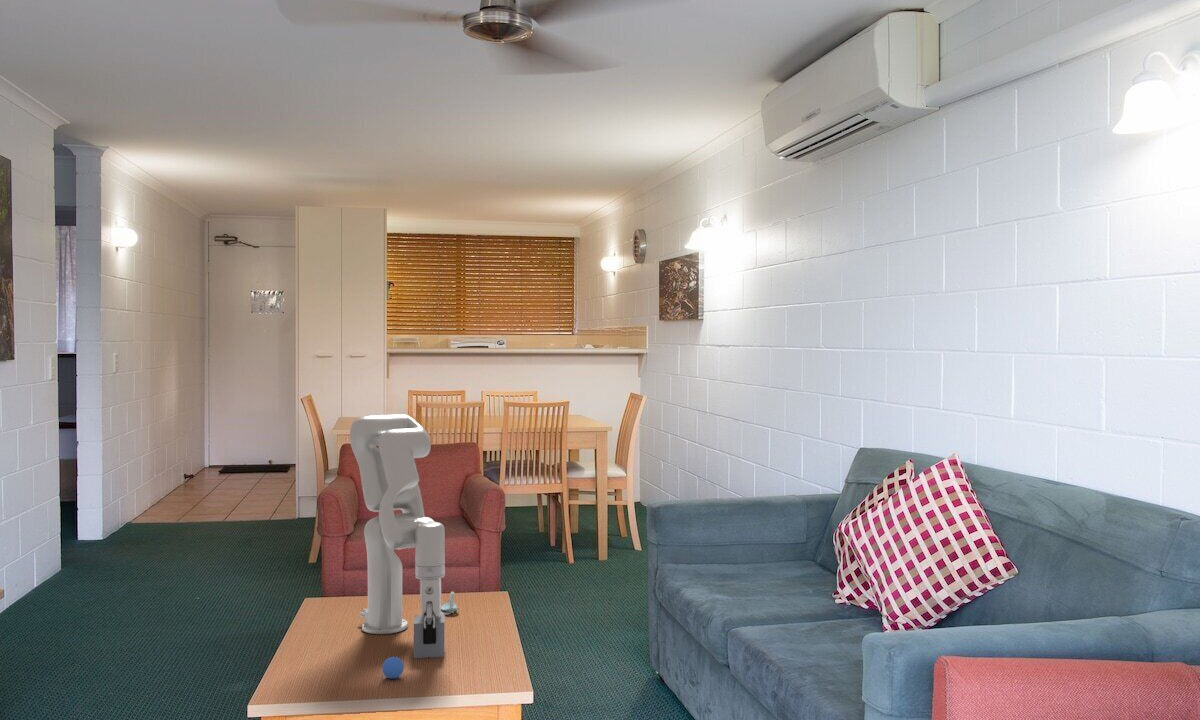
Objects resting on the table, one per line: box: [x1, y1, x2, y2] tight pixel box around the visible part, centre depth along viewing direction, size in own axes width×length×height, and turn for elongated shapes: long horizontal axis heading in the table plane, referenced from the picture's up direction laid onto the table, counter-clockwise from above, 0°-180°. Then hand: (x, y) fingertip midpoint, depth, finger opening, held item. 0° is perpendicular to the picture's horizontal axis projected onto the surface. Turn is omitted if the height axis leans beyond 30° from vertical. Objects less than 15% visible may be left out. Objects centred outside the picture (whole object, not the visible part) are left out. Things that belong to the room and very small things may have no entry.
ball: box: [381, 656, 405, 680], centre depth 220 cm, size 5×5×5 cm
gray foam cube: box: [413, 614, 446, 659], centre depth 238 cm, size 8×8×9 cm
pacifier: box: [441, 591, 460, 616], centre depth 275 cm, size 7×6×6 cm
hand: (430, 638), depth 238 cm, fingers closed on gray foam cube, 7 cm apart
